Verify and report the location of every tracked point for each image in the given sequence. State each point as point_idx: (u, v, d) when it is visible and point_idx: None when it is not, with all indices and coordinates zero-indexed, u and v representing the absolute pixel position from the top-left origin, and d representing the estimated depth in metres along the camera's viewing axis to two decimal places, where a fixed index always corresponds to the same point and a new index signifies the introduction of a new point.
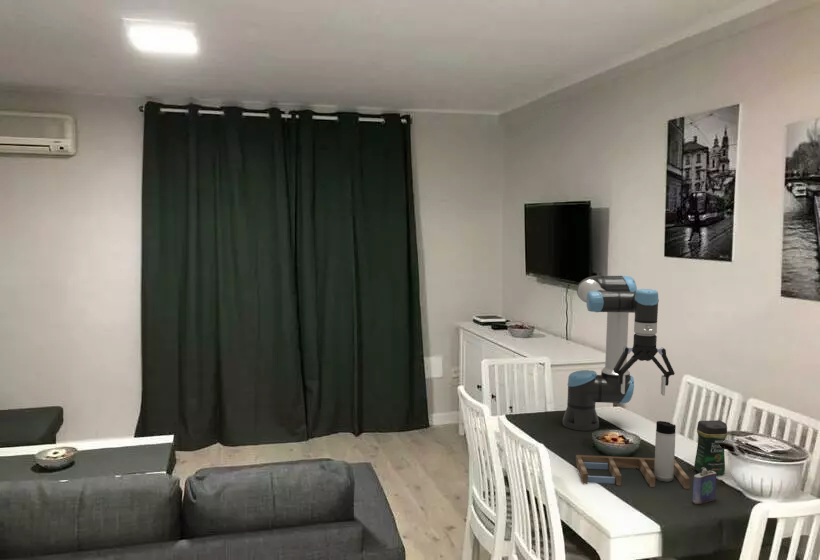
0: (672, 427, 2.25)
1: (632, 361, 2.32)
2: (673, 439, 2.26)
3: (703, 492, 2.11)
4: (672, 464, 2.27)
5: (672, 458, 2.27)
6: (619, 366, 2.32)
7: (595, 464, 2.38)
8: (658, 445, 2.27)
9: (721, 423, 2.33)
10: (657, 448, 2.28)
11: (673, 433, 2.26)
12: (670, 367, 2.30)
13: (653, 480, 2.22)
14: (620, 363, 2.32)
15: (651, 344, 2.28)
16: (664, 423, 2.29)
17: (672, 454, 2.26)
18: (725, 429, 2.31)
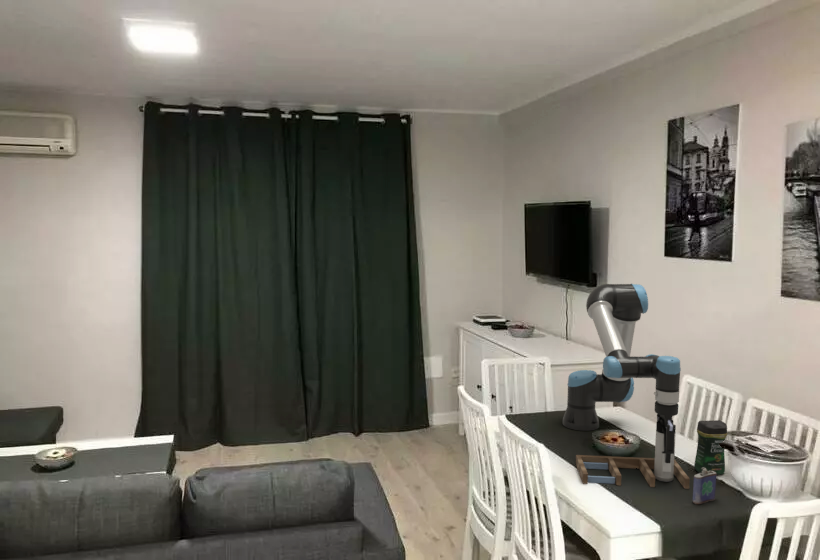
0: None
1: None
2: None
3: (703, 492, 2.11)
4: (672, 464, 2.27)
5: (672, 458, 2.27)
6: None
7: (595, 464, 2.38)
8: (658, 445, 2.27)
9: (721, 423, 2.33)
10: (657, 448, 2.28)
11: None
12: (666, 445, 2.23)
13: (653, 480, 2.22)
14: None
15: (656, 411, 2.26)
16: None
17: (672, 454, 2.26)
18: (725, 429, 2.31)
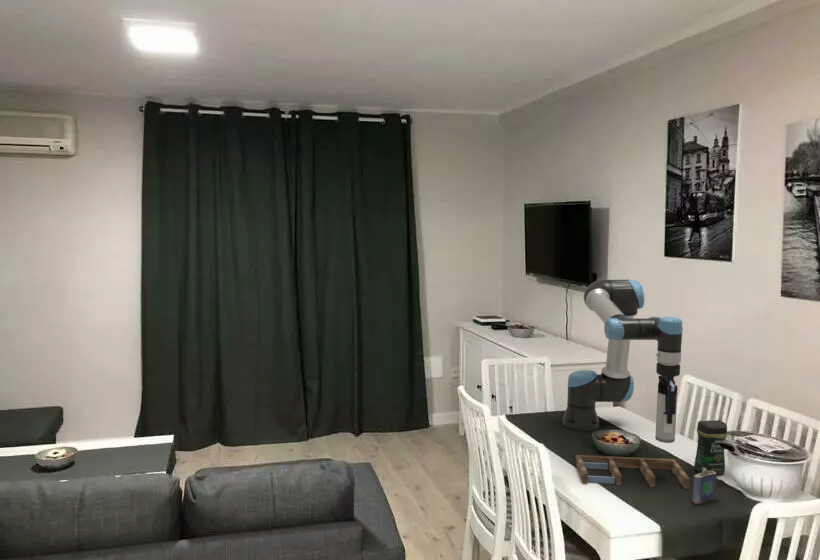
0: None
1: None
2: None
3: (703, 492, 2.11)
4: (674, 425, 2.26)
5: (674, 419, 2.25)
6: None
7: (595, 464, 2.38)
8: (659, 407, 2.26)
9: (721, 423, 2.33)
10: (659, 409, 2.27)
11: None
12: (668, 405, 2.21)
13: (653, 480, 2.22)
14: None
15: (658, 372, 2.25)
16: None
17: (674, 415, 2.25)
18: (725, 429, 2.31)
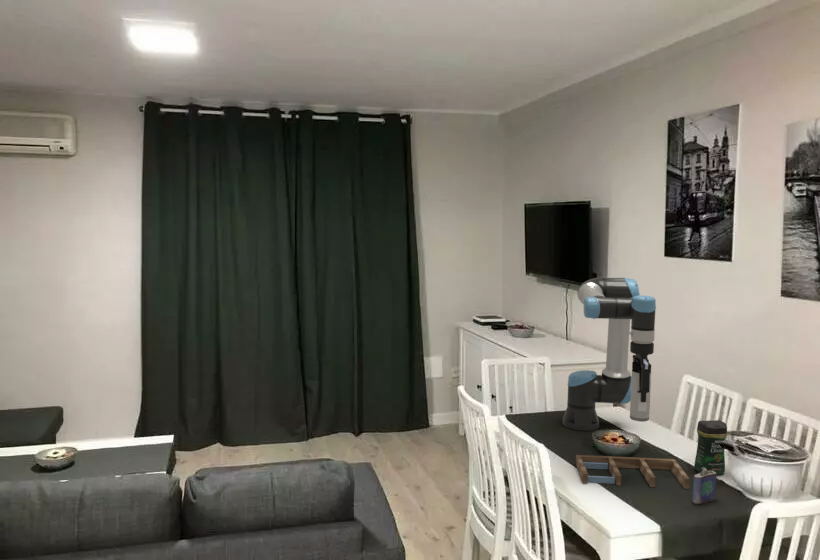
0: None
1: None
2: None
3: (703, 492, 2.11)
4: (648, 404, 2.26)
5: (648, 398, 2.25)
6: None
7: (595, 464, 2.38)
8: (634, 385, 2.26)
9: (721, 423, 2.33)
10: (633, 388, 2.27)
11: None
12: (641, 383, 2.21)
13: (653, 480, 2.22)
14: None
15: (632, 350, 2.25)
16: None
17: (648, 394, 2.25)
18: (725, 429, 2.31)
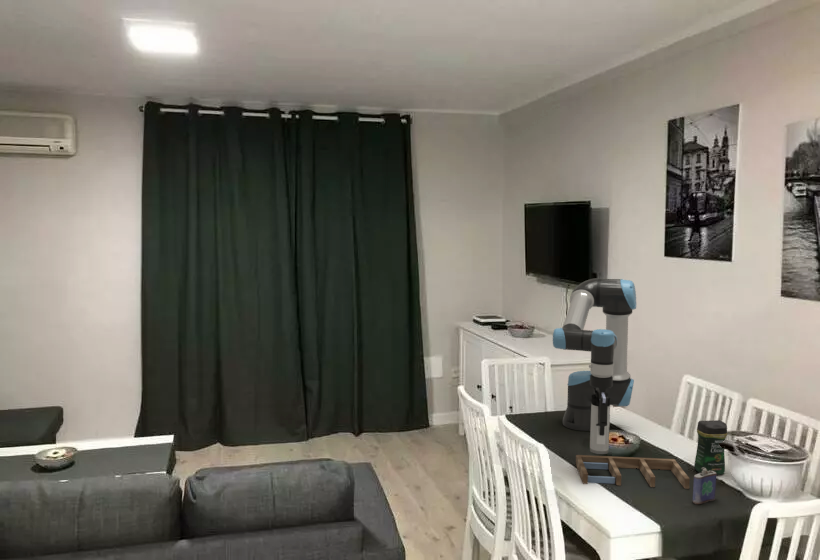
0: None
1: None
2: (607, 412, 2.27)
3: (703, 492, 2.11)
4: (607, 437, 2.28)
5: (607, 431, 2.28)
6: None
7: (595, 464, 2.38)
8: (593, 418, 2.29)
9: (721, 423, 2.33)
10: (592, 421, 2.29)
11: None
12: (599, 417, 2.24)
13: (653, 480, 2.22)
14: None
15: (591, 384, 2.28)
16: None
17: (606, 427, 2.28)
18: (725, 429, 2.31)
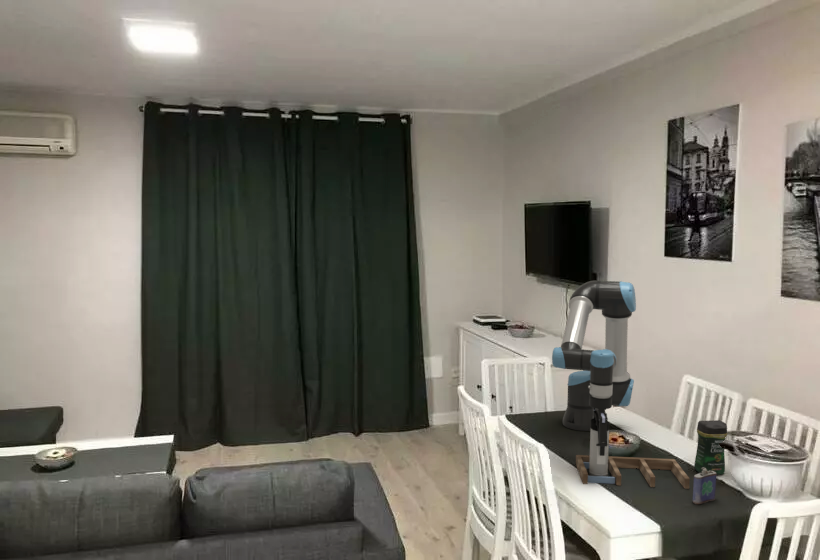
0: None
1: None
2: None
3: (703, 492, 2.11)
4: (606, 461, 2.29)
5: (606, 455, 2.29)
6: None
7: None
8: (592, 443, 2.30)
9: (721, 423, 2.33)
10: (591, 445, 2.30)
11: None
12: (599, 437, 2.23)
13: (653, 480, 2.22)
14: None
15: (590, 404, 2.29)
16: None
17: (606, 451, 2.29)
18: (725, 429, 2.31)
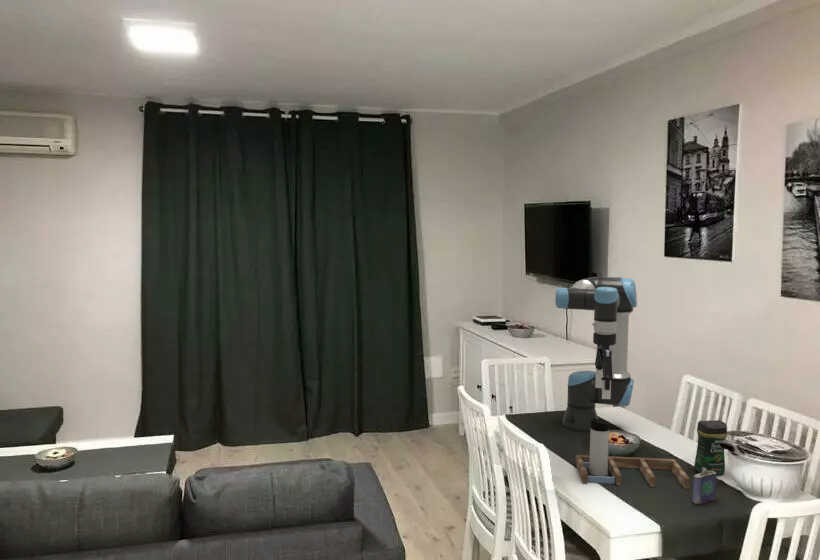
0: (605, 424, 2.28)
1: None
2: (606, 436, 2.28)
3: (703, 492, 2.11)
4: (606, 461, 2.29)
5: (606, 455, 2.29)
6: None
7: None
8: (592, 443, 2.30)
9: (721, 423, 2.33)
10: (591, 445, 2.30)
11: (606, 430, 2.28)
12: (604, 371, 2.21)
13: (653, 480, 2.22)
14: (596, 356, 2.37)
15: (594, 341, 2.27)
16: (598, 421, 2.32)
17: (606, 451, 2.29)
18: (725, 429, 2.31)
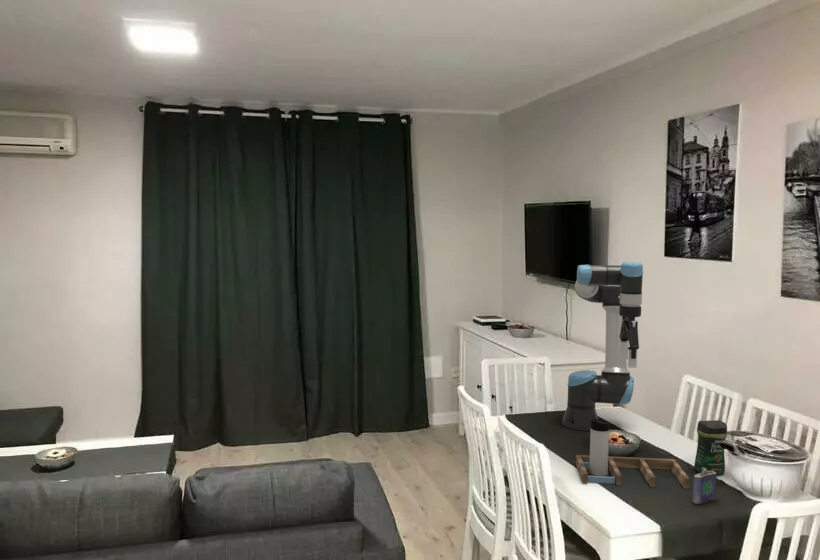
0: (605, 424, 2.28)
1: None
2: (606, 436, 2.28)
3: (703, 492, 2.11)
4: (606, 461, 2.29)
5: (606, 455, 2.29)
6: (620, 332, 2.50)
7: None
8: (592, 443, 2.30)
9: (721, 423, 2.33)
10: (591, 445, 2.30)
11: (606, 430, 2.28)
12: (631, 340, 2.33)
13: (653, 480, 2.22)
14: (621, 329, 2.49)
15: (620, 313, 2.39)
16: (599, 421, 2.32)
17: (606, 451, 2.29)
18: (725, 429, 2.31)
